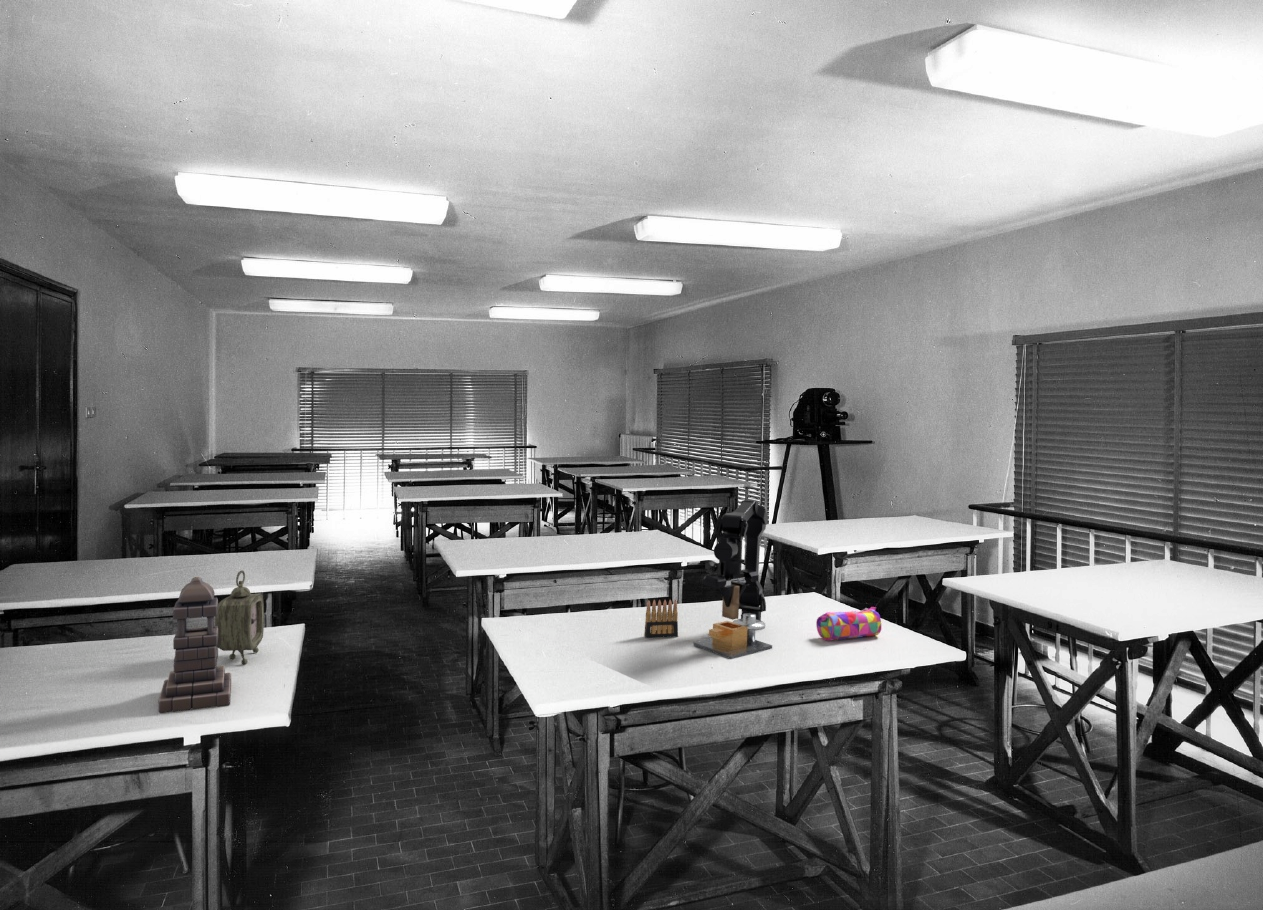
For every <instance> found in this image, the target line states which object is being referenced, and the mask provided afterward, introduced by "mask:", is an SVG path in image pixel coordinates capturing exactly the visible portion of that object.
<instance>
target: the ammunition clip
mask: <svg viewBox="0 0 1263 910" xmlns="http://www.w3.org/2000/svg"><path fill="white" fill-rule="evenodd" d="M645 610H646V611H645V624H644V633H643V637H644V638H645V639H652V638H653V639H659V638H678V637H679V625H678V623H679V621H678V620H679V619H678V618H679V617H678V615H679V613H678V601H677V599H676V598H675V599H674V601H673V603H672V600H671V599H669V601H668V605H667V601H666V599H664V601H663V604H662V602H661V599H659V600H658V602H657V604H656V600H655V599H653V601H652V605H651V601H650V600H647V603H646V609H645Z"/></svg>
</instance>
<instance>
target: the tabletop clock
mask: <svg viewBox="0 0 1263 910" xmlns="http://www.w3.org/2000/svg"><path fill="white" fill-rule="evenodd" d="M241 574H242V575H243V576H242V580H239V577H240V576H241ZM235 580H236V581H235V583H236V586H237V587H235V588H234V589H233V588H232V591H231V593H230V595H229V596H227V597H225V598H223V599H221V600H220V601H218V612H217V616H214V626H217V627H218V643H217V648H218V650H221V651H223V652H229V651H232V653H231V654H230V655H229V656H228V657H229V660H234V659H236V654H235V653H236V651H238V652H239V654H240V656H241V658H242V659H241V664H242V665H243V666H245V665H247V664H248V659H247V658H246V657H245V652H244V651H252V652H253V653H255V654H257V653H258V652H259V647H258V646H259V645H260V643H261V642H262V641H263V638H264V628H265V625H264V623H265V621H264V620H265V607H264V606H265V604H264V595H263V594H262V593H251V592H250V589H249V588H248V587H246V586H243V585H244V583H245V581H246V573H245V571H244V570H240V571H238V573H237V575H236V579H235Z"/></svg>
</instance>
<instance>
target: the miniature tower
mask: <svg viewBox="0 0 1263 910" xmlns="http://www.w3.org/2000/svg"><path fill="white" fill-rule="evenodd" d="M218 603H219V600H218V597H215V589H214V588H213V587H212V585H210V584H209V583H207V582H205V581H203V578H201V577H200V576H193V578H191V580H190V582H189V583H186V584H185V586H184V587H183V588H182V589H181V590H180V593H179V597H178V599H177V601H176V602H175V604H174V607H173V608H172V619H173V620H174V621H175V620H176V631H175V635H174V638H173V644H172V645H173V648H172V649H173V650H174V658H173V670H172V671H170V672H169V674H168V678H167V679H165V680H164V681H163V684H162V688H161V691H160V695H159V698H158V713H160V714H164V713H165V714H166V713H177V712H183V711H184V712H185V711H186V712H187V711H191V710H200V709H208V708H215V707H217V708H219V707H228V706H230V705H231V696H232V695H231V694H232V692H231V691H232V673H231V672H226V666H225V665H217V664H218V659H219V648H217V643H218V627H217V626H215V616H217V612H218ZM202 617H203V618H206V620H207V621H206V622H207V626H202V627H201V626H200V627H191V628H189V627H188V628H187V619H199V618H202Z"/></svg>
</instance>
